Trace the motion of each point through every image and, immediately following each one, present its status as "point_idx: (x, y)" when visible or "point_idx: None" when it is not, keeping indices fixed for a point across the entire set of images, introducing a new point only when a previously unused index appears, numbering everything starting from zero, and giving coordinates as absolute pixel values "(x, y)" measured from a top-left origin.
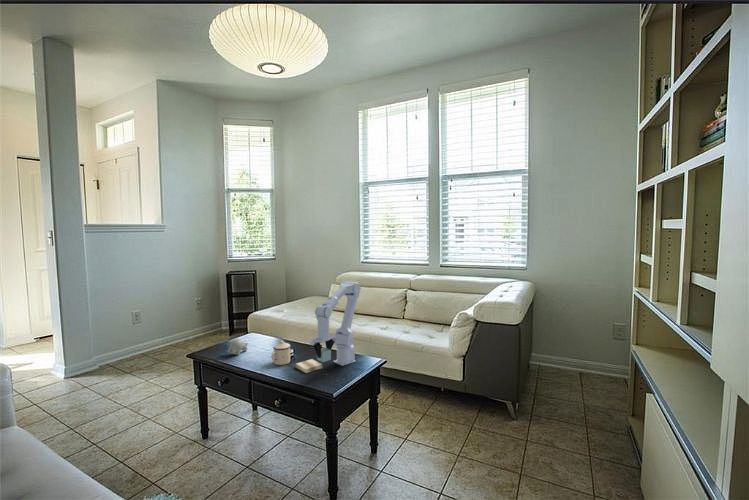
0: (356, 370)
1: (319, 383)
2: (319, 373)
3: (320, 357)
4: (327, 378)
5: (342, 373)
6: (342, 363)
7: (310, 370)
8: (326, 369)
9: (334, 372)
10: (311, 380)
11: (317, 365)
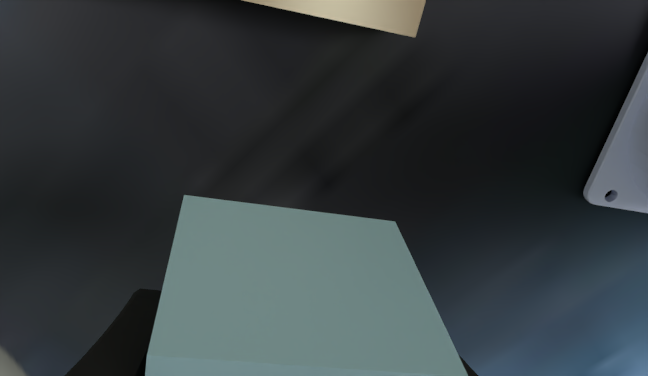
0: (537, 371)
1: (35, 326)
2: (230, 131)
3: None
4: None
5: None
6: (633, 175)
7: None
8: (391, 110)
9: None
10: (5, 207)
11: (327, 6)
